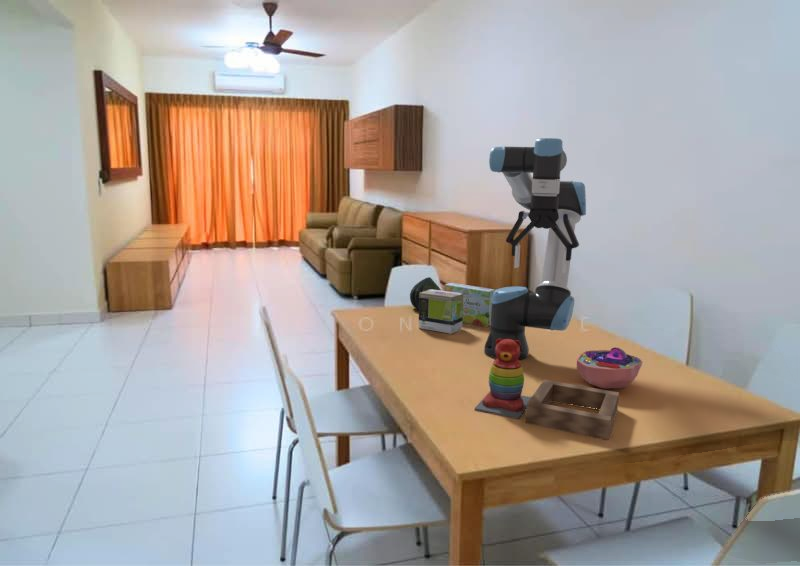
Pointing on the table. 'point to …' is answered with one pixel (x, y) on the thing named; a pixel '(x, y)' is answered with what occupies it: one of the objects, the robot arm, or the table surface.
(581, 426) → the square wooden frame
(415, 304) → the squash
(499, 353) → the stacking bear
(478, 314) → the snack box
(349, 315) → the table surface
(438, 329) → the tea box
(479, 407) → the rubber mat
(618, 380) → the cell model
